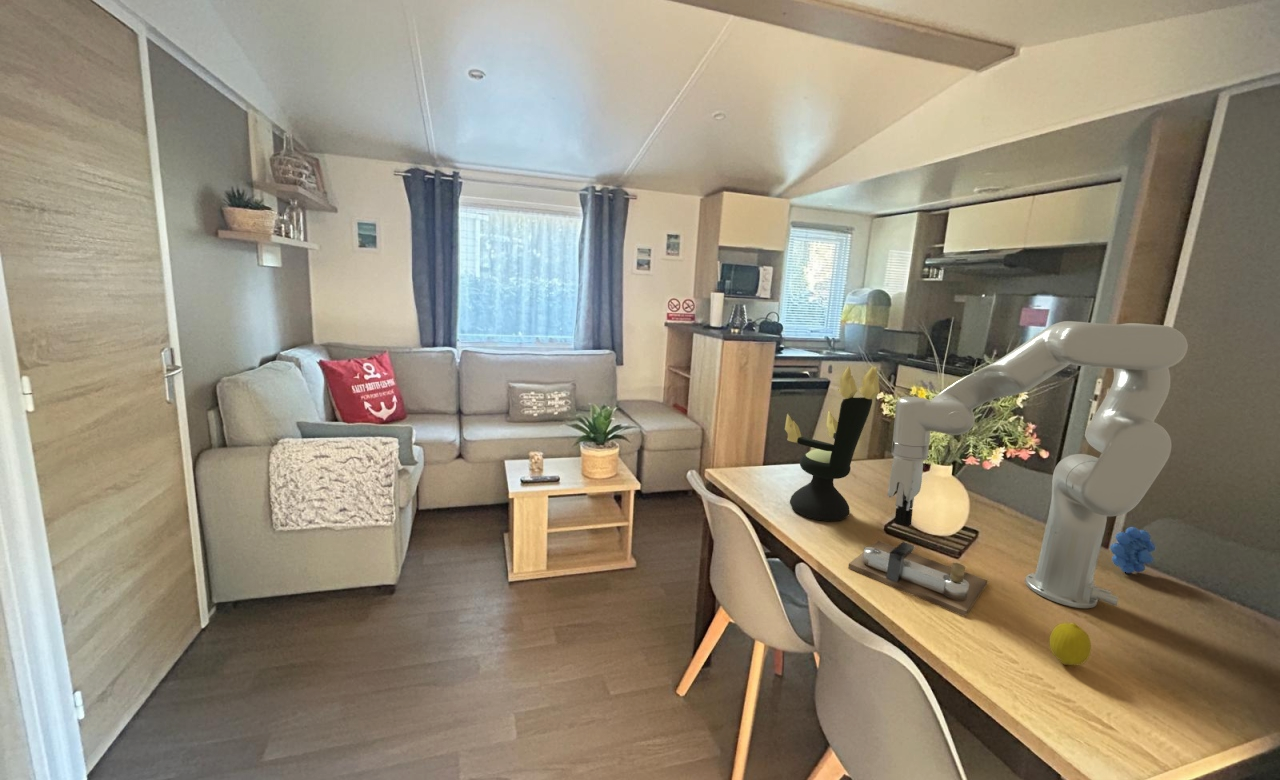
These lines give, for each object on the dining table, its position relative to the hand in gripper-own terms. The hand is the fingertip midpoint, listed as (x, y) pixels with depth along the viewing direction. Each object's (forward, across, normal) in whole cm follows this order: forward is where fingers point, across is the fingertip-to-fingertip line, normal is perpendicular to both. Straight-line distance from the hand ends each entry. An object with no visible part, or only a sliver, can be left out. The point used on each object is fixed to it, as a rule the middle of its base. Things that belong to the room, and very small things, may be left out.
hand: (902, 524), depth 124 cm
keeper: (+8, +9, +2) cm, 13 cm away
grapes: (+13, -38, +42) cm, 58 cm away
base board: (+10, +5, +5) cm, 12 cm away
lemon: (+11, +17, +32) cm, 38 cm away
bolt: (+8, +10, +5) cm, 13 cm away
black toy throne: (+9, -14, -24) cm, 29 cm away
